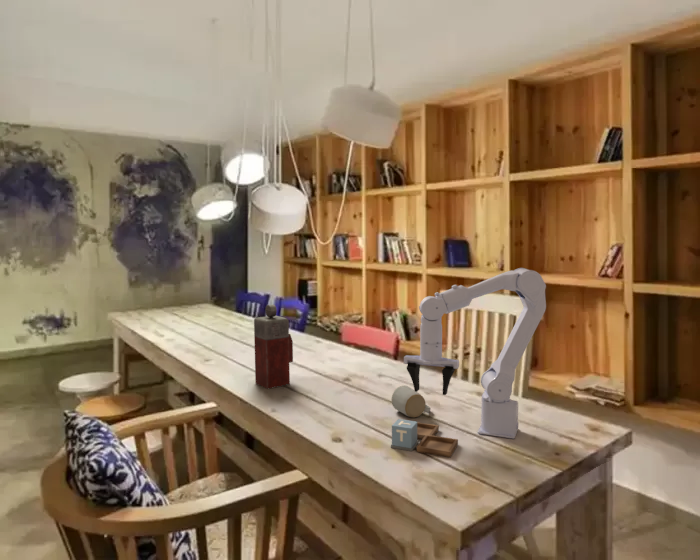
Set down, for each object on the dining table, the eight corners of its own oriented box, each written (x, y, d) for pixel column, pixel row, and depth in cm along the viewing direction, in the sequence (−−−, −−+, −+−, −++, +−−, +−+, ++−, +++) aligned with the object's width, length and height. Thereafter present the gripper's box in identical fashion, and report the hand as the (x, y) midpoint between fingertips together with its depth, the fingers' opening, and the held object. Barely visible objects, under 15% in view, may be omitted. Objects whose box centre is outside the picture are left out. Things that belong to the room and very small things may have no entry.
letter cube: (417, 440, 135) (417, 421, 134) (411, 448, 130) (411, 428, 130) (398, 437, 137) (398, 418, 136) (391, 445, 132) (391, 425, 132)
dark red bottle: (295, 383, 188) (294, 304, 186) (267, 389, 181) (265, 307, 179) (282, 377, 195) (281, 301, 193) (255, 383, 189) (253, 304, 186)
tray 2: (457, 444, 134) (457, 439, 133) (450, 457, 126) (450, 451, 126) (426, 439, 137) (426, 434, 137) (416, 452, 129) (416, 446, 129)
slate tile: (418, 442, 135) (418, 440, 135) (412, 451, 130) (412, 448, 130) (398, 439, 137) (397, 437, 137) (390, 447, 132) (390, 445, 132)
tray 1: (438, 430, 143) (438, 425, 143) (430, 441, 136) (430, 436, 136) (409, 426, 146) (409, 421, 146) (399, 436, 139) (399, 431, 139)
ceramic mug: (405, 420, 151) (406, 394, 150) (390, 412, 158) (391, 386, 157) (436, 415, 155) (437, 389, 155) (420, 407, 163) (421, 382, 162)
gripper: (400, 342, 140) (400, 393, 142) (455, 347, 135) (454, 399, 136) (408, 337, 147) (408, 386, 148) (461, 341, 141) (460, 392, 142)
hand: (430, 392), depth 142 cm, fingers open, 7 cm apart
